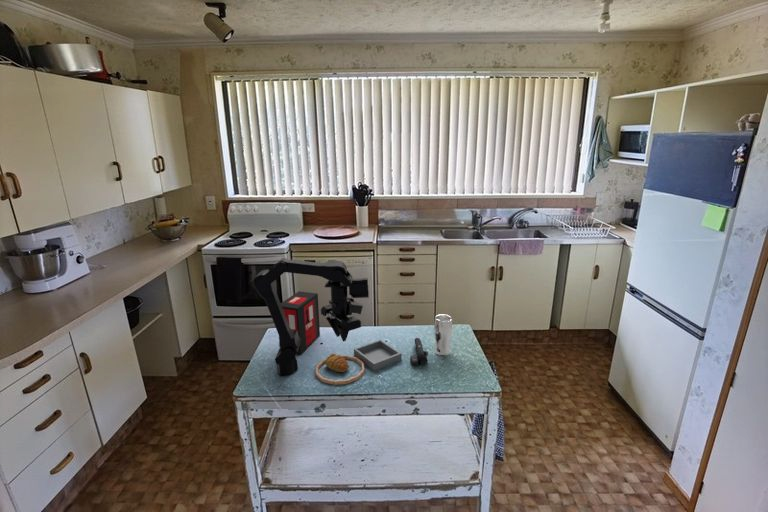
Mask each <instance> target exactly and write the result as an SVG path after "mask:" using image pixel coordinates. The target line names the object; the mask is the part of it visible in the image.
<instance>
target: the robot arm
mask: <svg viewBox="0 0 768 512" xmlns="http://www.w3.org/2000/svg"><path fill="white" fill-rule="evenodd" d="M284 273H287V274H288V273H289V274H299V275H307V276H316V277H321V278H323V279H325V280H327V281H326V282H325V285H324V287H325V288H330V300H328V304H326V305H323V306H322V307H321V308H320V314H321V316H323V317H325V320H326V321H327V322H328V324H329V326H330V327H331V328H332V331H333V332H334V334H335V336H336V338H338V337H340V338H341V341H342V342H346V341H347V338H348V335H349V332H350V331H353V330H357V329H359V328H361V327H362V321H361V320H360V319H358V318H357V317H355V316H354V315H353V314H358V315H361V314H362V311H363V309H364V307H363V305H362V304H361V303H360V302H357V301H356V300H355V299H363V298H365V299H367V298H369V297H370V295H369V293H370V292H369V289H370V288H369V283H368V282H369V281H368V280H369V279H368V277H364V278H353V277H354V276H353V275H352V274H351V272H349V271H348V267H347V265H346V264H345V262H344V261H341V260H340V261H339V260H338V261H337V260H335V261H327V262H316V261H314V262H313V261H305V260H297V259H288V258H286V257H285V258H281V259H280V260H278V261H277V262H276V263H275V264H273V265H272V266H271V267H269V268H268V269H263V270H261V271H260V272H259V273H258V274H257V275H255V277H254V279H253V283H252V284H253V287H254V288H255V290H256V292H257V293H258V294H259V296H261V298H262V299H264V301H265V304H266V306H267V309H268V312H269V314H270V316H271V319H272V323H273V324H274V327H275V328H276V329H275V330H276V332H277V334H278V342H279V343H278V345H279V348H278V351H277V353H276V355H275V358H274V361H275V364H276V373H277V374H278V375H279V377H288V376H292V375H293V374H295V372H297V371H298V368H299V367H298V359H297V358H296V356H297V355H296V354H297V352H298V349H299V346H300V341H301V339H300V337H299V335H298V331H295V332H293V331H292V330H291V328H290V326H289V324H288V321H287V319H286V316H285V313H284V311H283V308H282V306H281V303H282V302H281V301H280V299H279V298H280V297H279V295H278V292H277V291H278V289H277V280H278V278H279V277H280V276H282V275H283V274H284ZM348 293H349V295H348ZM349 296H350V297H349ZM326 316H327V317H326ZM349 316H350V317H349Z"/></svg>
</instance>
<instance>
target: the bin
mask: <svg viewBox="0 0 768 512" xmlns="http://www.w3.org/2000/svg"><path fill="white" fill-rule="evenodd" d="M402 355H403V354H402V352H400V351H399V350H397V349H396V348H394V347H393V346H391V345H390V344H388V343H386V342H385V341H383V340H382V339H378V340H376V341H375V340H374V341H373V342H369V343H367V344H364V345H361V346H358V347H356V348H355V347H354V348H353V357H357V358H358V359H359V360H361V361H362V362H363V363H364V366H367V367H368V368H369V369H370V370H372V371H373V372H376V371H378V370H380V369H383V368H387V367H388V366H390V365H393V364H395V363H398V362H400V361H401V360H402V359H403V358H402V357H403V356H402Z"/></svg>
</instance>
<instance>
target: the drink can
mask: <svg viewBox="0 0 768 512" xmlns="http://www.w3.org/2000/svg"><path fill="white" fill-rule="evenodd" d="M434 317H435V318H434V328H433V331H434V333H433V334H434V340H435V348H434V354H436V355H437V354H438V355H437V356H440V355H446V356H448V354H449V353H451V350H450V344H451V339H452V333H453V317H452V316H450V315H449V314H443V313H442V314H437V315H436V316H434ZM449 355H450V354H449Z"/></svg>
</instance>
